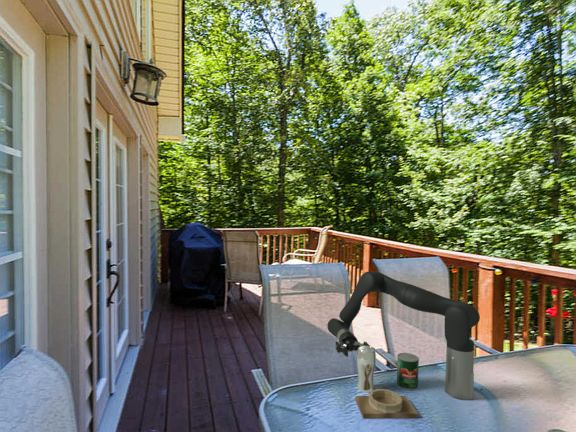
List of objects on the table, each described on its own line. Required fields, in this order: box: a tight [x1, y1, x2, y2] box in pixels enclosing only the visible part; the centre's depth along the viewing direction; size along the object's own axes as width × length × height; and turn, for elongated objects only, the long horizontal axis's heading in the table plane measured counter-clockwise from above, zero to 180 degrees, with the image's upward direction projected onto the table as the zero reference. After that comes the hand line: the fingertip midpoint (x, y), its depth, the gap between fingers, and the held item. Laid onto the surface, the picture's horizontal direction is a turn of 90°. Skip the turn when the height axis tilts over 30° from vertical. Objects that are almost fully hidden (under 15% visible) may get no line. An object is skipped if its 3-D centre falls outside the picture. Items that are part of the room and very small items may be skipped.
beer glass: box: [356, 345, 377, 393], centre depth 135 cm, size 7×7×15 cm
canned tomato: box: [395, 352, 420, 391], centre depth 139 cm, size 8×8×11 cm
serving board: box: [354, 388, 419, 419], centre depth 122 cm, size 18×11×4 cm, turn 93°
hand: (357, 354), depth 146 cm, fingers open, 8 cm apart
